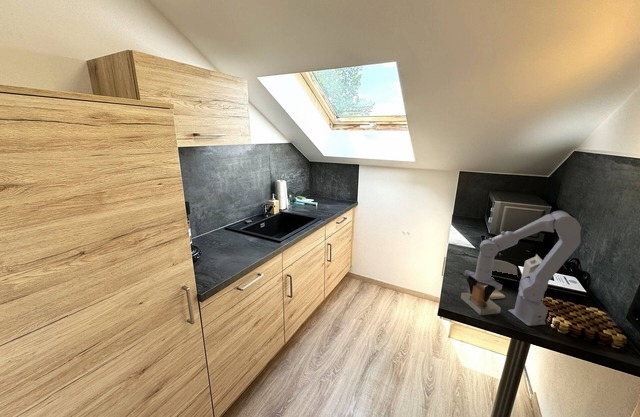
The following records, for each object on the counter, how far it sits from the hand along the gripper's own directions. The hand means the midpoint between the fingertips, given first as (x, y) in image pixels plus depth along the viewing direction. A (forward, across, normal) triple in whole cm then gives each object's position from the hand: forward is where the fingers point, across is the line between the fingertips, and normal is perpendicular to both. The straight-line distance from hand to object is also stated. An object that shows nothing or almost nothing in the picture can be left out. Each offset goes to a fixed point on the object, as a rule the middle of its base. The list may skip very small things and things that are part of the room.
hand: (479, 296), depth 113 cm
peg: (+3, 0, 0) cm, 3 cm away
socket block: (+3, -1, 0) cm, 4 cm away
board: (+3, +2, -13) cm, 13 cm away
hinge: (+4, +8, -33) cm, 34 cm away
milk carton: (+4, -8, -28) cm, 29 cm away
